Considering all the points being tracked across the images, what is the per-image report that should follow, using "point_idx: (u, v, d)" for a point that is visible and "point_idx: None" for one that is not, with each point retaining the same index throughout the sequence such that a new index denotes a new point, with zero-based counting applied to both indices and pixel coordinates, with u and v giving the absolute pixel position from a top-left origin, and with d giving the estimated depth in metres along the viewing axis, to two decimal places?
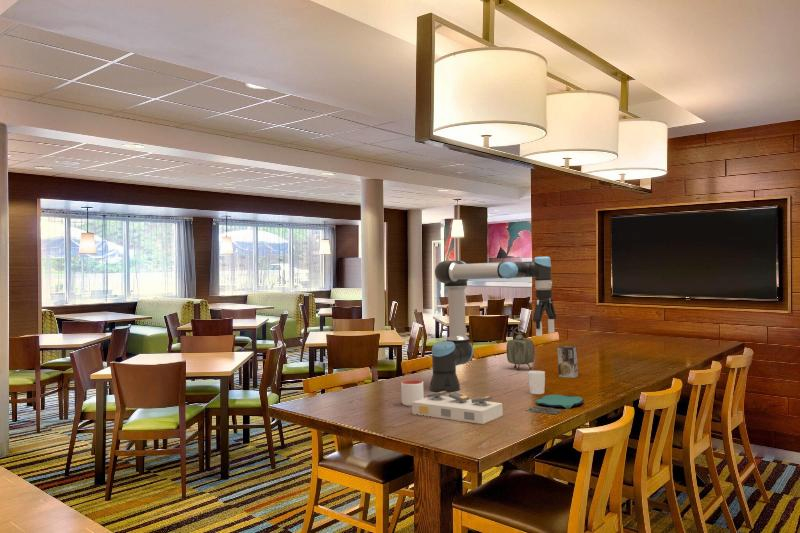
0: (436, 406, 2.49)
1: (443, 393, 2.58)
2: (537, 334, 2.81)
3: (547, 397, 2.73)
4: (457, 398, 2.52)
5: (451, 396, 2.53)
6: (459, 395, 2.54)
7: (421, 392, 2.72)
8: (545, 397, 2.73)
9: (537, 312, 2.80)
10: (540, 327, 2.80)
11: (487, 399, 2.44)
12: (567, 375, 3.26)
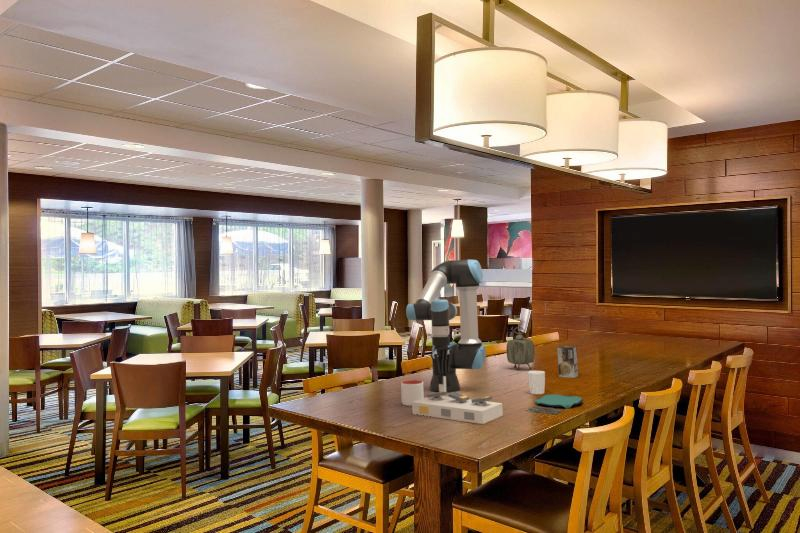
0: (436, 406, 2.49)
1: (443, 393, 2.58)
2: (440, 390, 2.58)
3: (546, 397, 2.73)
4: (457, 398, 2.52)
5: (451, 396, 2.53)
6: (459, 395, 2.54)
7: (421, 392, 2.72)
8: (544, 397, 2.73)
9: (436, 367, 2.55)
10: (443, 382, 2.57)
11: (487, 399, 2.44)
12: (567, 375, 3.26)
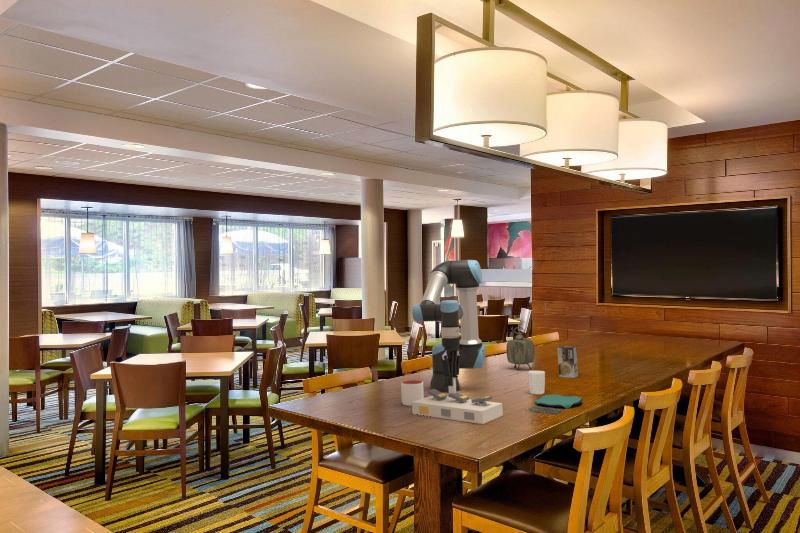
0: (436, 406, 2.49)
1: (443, 397, 2.58)
2: (450, 391, 2.55)
3: (545, 397, 2.74)
4: (457, 398, 2.52)
5: (451, 396, 2.53)
6: (459, 395, 2.54)
7: (421, 392, 2.72)
8: (543, 397, 2.74)
9: (446, 369, 2.52)
10: (453, 384, 2.54)
11: (487, 399, 2.44)
12: (567, 375, 3.26)
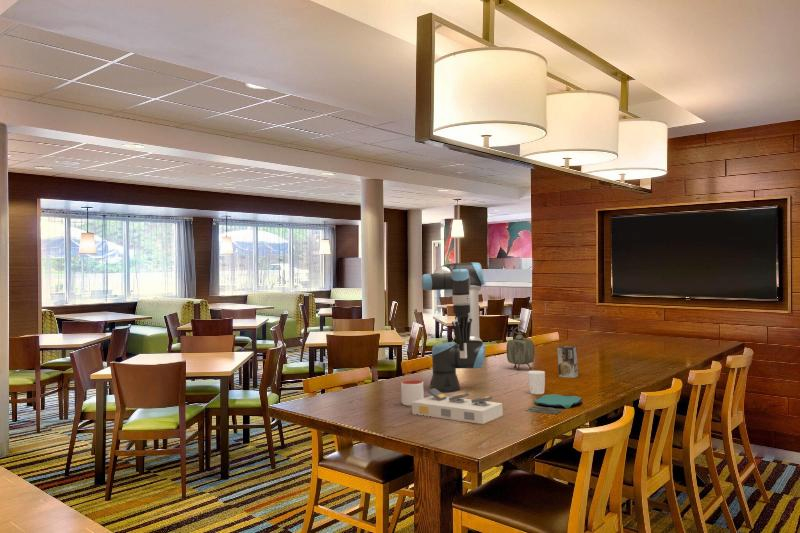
0: (436, 406, 2.49)
1: (443, 398, 2.59)
2: (461, 356, 2.67)
3: (545, 397, 2.74)
4: (457, 397, 2.52)
5: (451, 399, 2.53)
6: None
7: (421, 392, 2.72)
8: (543, 397, 2.74)
9: (457, 334, 2.63)
10: (464, 349, 2.66)
11: (487, 399, 2.44)
12: (567, 375, 3.26)
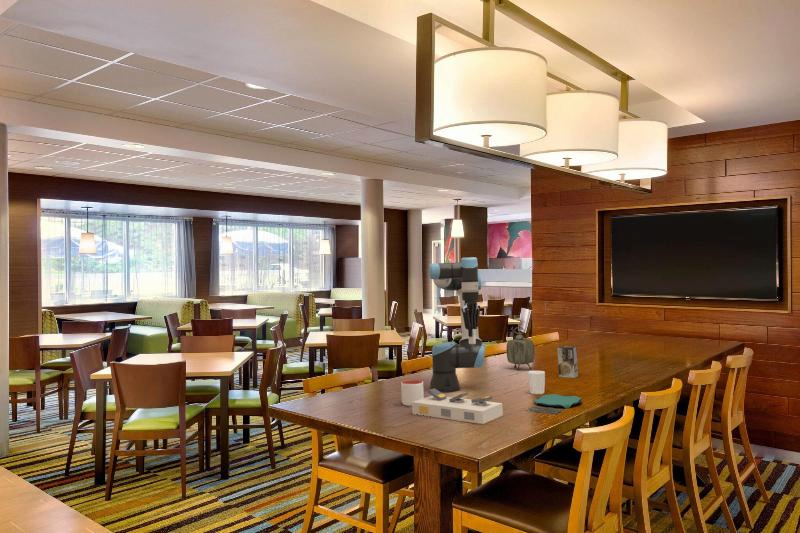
0: (436, 406, 2.49)
1: (443, 398, 2.59)
2: (470, 342, 2.75)
3: (544, 397, 2.74)
4: (457, 397, 2.52)
5: (451, 399, 2.53)
6: None
7: (421, 392, 2.72)
8: (542, 397, 2.74)
9: (467, 320, 2.71)
10: (472, 335, 2.74)
11: (487, 399, 2.44)
12: (567, 375, 3.26)
